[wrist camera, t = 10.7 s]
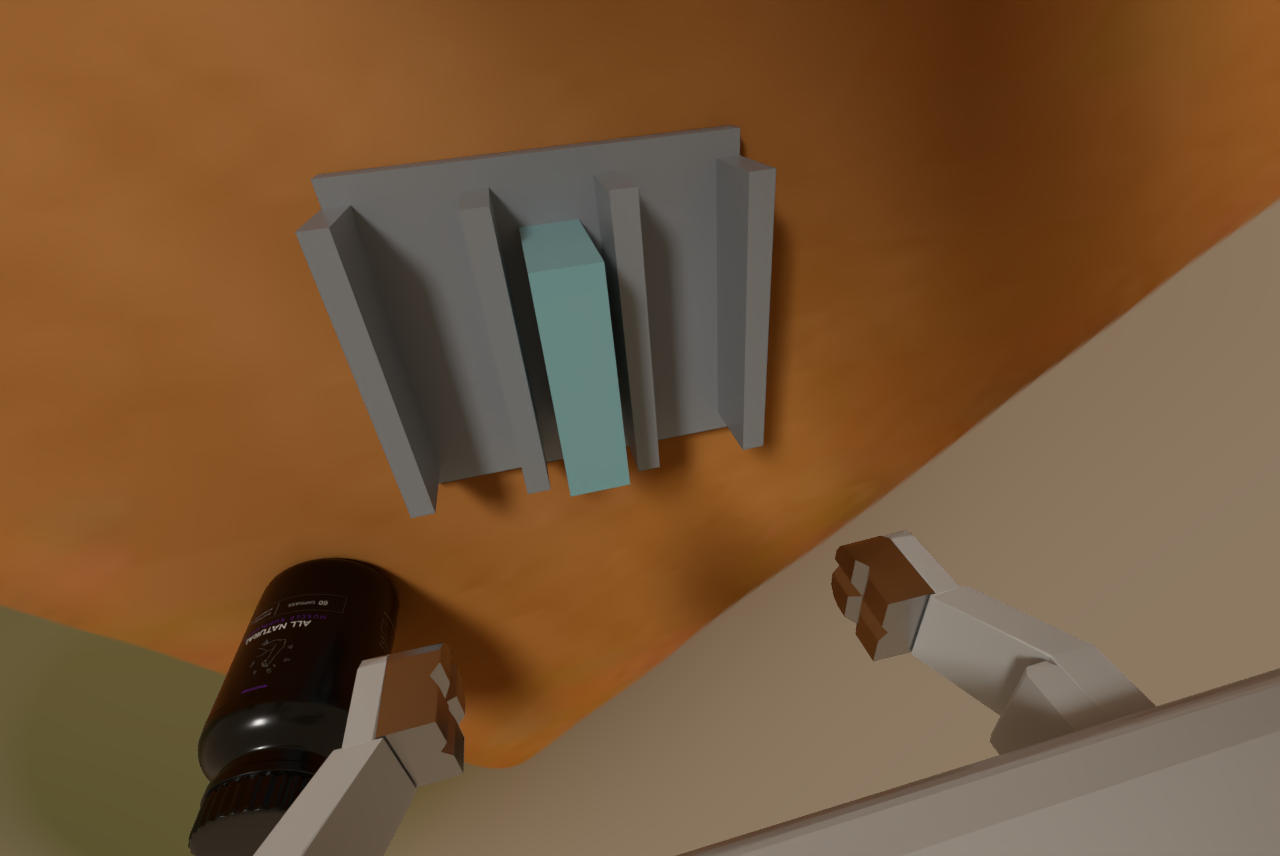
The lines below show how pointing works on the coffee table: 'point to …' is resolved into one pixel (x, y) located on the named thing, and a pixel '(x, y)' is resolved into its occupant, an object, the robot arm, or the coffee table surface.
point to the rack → (503, 306)
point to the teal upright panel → (578, 352)
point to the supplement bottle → (287, 697)
